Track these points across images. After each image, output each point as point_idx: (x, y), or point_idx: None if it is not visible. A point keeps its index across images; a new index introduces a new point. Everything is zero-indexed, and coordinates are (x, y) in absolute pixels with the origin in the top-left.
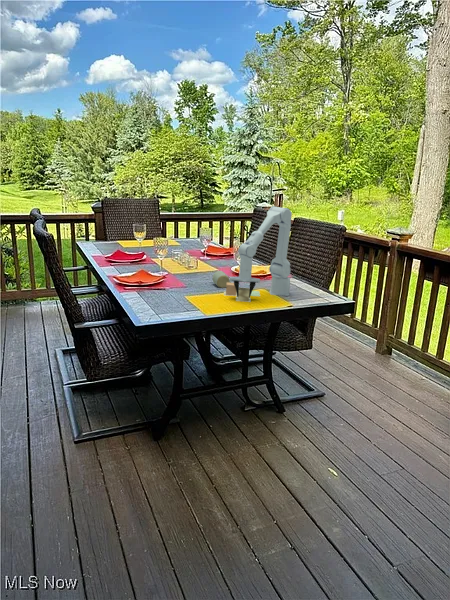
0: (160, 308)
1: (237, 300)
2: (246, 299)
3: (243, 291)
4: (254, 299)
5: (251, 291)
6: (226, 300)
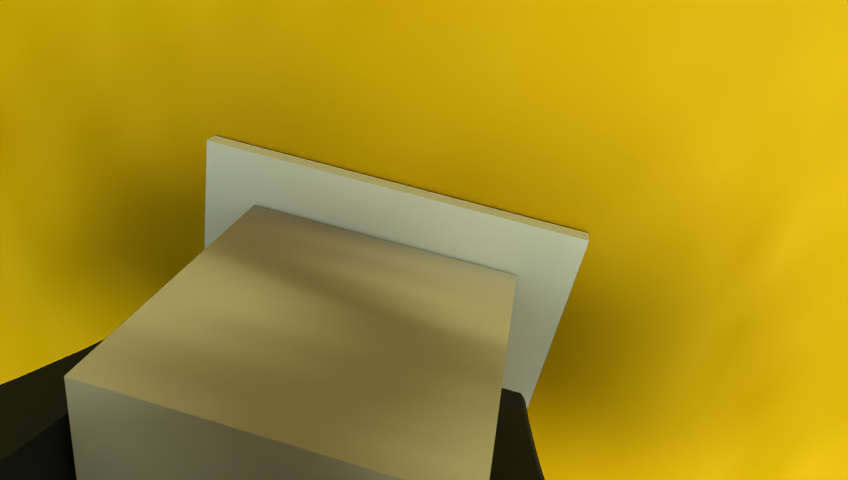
0: None
1: (536, 270)
2: (294, 233)
3: (308, 416)
4: None
5: (21, 380)
6: (830, 336)
